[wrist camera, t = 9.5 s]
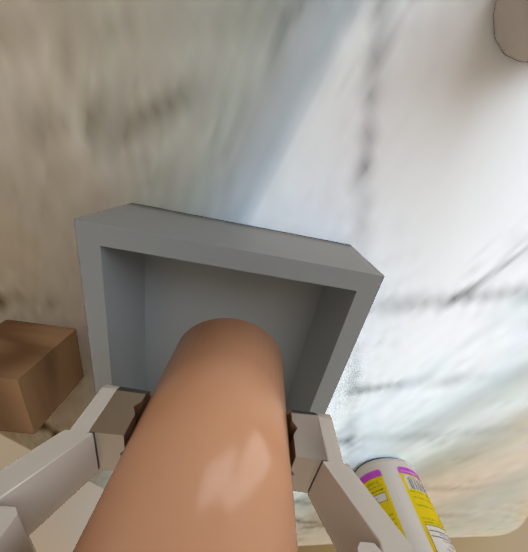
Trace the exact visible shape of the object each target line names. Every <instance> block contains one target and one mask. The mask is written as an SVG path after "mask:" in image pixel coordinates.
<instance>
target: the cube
mask: <svg viewBox="0 0 528 552" xmlns="http://www.w3.org/2000/svg"><path fill="white" fill-rule="evenodd" d="M83 377H84V375H83V369H82V363H81V357H80V351H79V345H78V339H77V334H76V329H71V328H64V327H57V326H49V325H42V324H35V323H28V322H21V321H13V320H6V321H4V322H2V323H1V324H0V431H9V432H19V433H28V434H35V433H36V432H37V431H38V430H39V428H40V427H41V426H42V425H43V424H44V422H45V421H46V420H47V419H48V418H49V417H50V415H51V414H52V413H53V412H54V411H55V410H56V408H57V407H58V406H59V405H60V404H61V403H62V401H63V400H64V399H65V398H66V397H67V396H68V394H69V393H70V392H71V391H72V390H73V389H74V387H75V386H76V385H77V384H78V383H79V381H80V380H81V379H82V378H83Z"/></svg>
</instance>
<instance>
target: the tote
mask: <svg viewBox="0 0 528 552" xmlns="http://www.w3.org/2000/svg"><path fill="white" fill-rule="evenodd" d="M74 224H75V232H76V240H77V248H78V256H79V264H80V272H81V280H82V288H83V296H84V304H85V312H86V320H87V328H88V336H89V344H90V352H91V360H92V368H93V376H94V384H95V392H96V394H97V393H98V391H99V390H100V389H101V388H102V387H103V386H105V385H106V384H107V385H114V386H121V387H127V388H133V389H139V390H145V391H150V392H151V396H152V394H153V392H154V390H155V388H156V386H157V384H158V382H159V380H160V378H161V376H162V374H163V372H164V370H165V368H166V366H167V364H168V362H169V360H170V358H171V356H172V354H173V352H174V350H175V348H176V346H177V344H178V342H179V340H180V339H181V337H182V336H183V335H184V334H185V333H186V332H187V331H188V330H189V329H190V328H192V327H193V326H195V325H197V324H199V323H201V322H204V321H207V320H211V319H217V318H233V319H239V320H244V321H247V322H250V323H252V324H254V325H256V326H258V327H260V328H261V329H263V330H264V331H266V332H267V333H268V334H269V335H270V336H271V337H272V338H273V339H274V341H275V342H276V343H277V345H278V347H279V349H280V352H281V356H282V364H283V376H284V389H285V401H286V413H288V411H289V410H298V411H307V412H315V413H320V414H325V412H326V410H327V407H328V405H329V403H330V400H331V398H332V396H333V394H334V391H335V389H336V387H337V384H338V382H339V380H340V377H341V375H342V373H343V371H344V368H345V366H346V364H347V361H348V359H349V357H350V354H351V352H352V350H353V347H354V345H355V343H356V341H357V338H358V336H359V334H360V331H361V329H362V327H363V324H364V322H365V320H366V317H367V315H368V313H369V311H370V308H371V306H372V304H373V301H374V299H375V297H376V294H377V292H378V290H379V288H380V285H381V283H382V281H383V278H384V275H383V274H382V273H380V272H379V271H378V270H377V269H376V268H375V267H374V266H373V265H372V264H371V263H369V262H368V261H367V260H366V259H365V258H364V257H363V256H362V255H361V254H360V253H358V252H357V251H356V250H355V249H354V248H353V247H352V246H351V245H348V244H343V243H338V242H332V241H327V240H322V239H317V238H312V237H306V236H301V235H296V234H291V233H286V232H280V231H275V230H270V229H265V228H259V227H254V226H249V225H244V224H239V223H233V222H228V221H223V220H218V219H212V218H207V217H202V216H197V215H192V214H186V213H181V212H176V211H171V210H166V209H160V208H155V207H150V206H145V205H139V204H134V203H130V204H127V205H123V206H120V207H116V208H112V209H109V210H105V211H102V212H98V213H94V214H91V215H87V216H84V217H80V218H76V219H74Z"/></svg>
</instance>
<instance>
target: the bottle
mask: <svg viewBox="0 0 528 552" xmlns="http://www.w3.org/2000/svg"><path fill="white" fill-rule="evenodd" d="M493 19H494V30H495V39H496V40H497V42H498V44H499V45H500V47H501V49H502V50H503V52H504V54H505V55H507V56H509V57H512V58H514V59H516V60H518V61H520V62H526V61H528V0H497V1H496V5H495V10H494V14H493Z"/></svg>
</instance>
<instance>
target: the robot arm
mask: <svg viewBox="0 0 528 552" xmlns="http://www.w3.org/2000/svg"><path fill="white" fill-rule="evenodd" d="M150 398H151V392H150V391H145V390H139V389H133V388H127V387H121V386H114V385H107V384H106V385H105V386H103V387H102V388H101V389H100V390H99V391H98V393H97V394H96V395H95V397H94V398H93V399H92V401H91V402H90V403H89V405H88V406H87V407H86V409H85V410H84V411H83V413H82V414H81V415H80V417H79V418H78V419H77V421H76V422H75V423H74V425H73V426H72V427H71V429H70V430H63V431H62V432H60V433H58V434H57V435H55V436H54V437H52V438H50V439H49V440H47V441H46V442H44V443H42V444H41V445H39V446H38V447H36V448H34V449H33V450H31V451H30V452H28V453H26V454H25V455H23V456H22V457H20V458H18V459H17V460H15V461H13V462H12V463H10V464H9V465H7V466H5V467H4V468H2V469H1V470H0V552H36V550H35V548H34V546H33V544H32V541H31V539H30V537H29V535H30V534H31V533H32V532H33V531H34V530H35V529H37V528H38V527H39V526H40V525H41V524H42V523H43V522H44V521H45V520H46V519H47V518H49V517H50V516H51V515H52V514H53V513H54V512H55V511H56V510H57V509H58V508H59V507H61V506H62V505H63V504H64V503H65V502H66V501H67V500H68V499H69V498H70V497H71V496H72V495H73V494H75V493H76V492H77V491H78V490H79V489H80V488H81V487H82V486H83V485H84V484H85V483H86V482H88V481H89V480H90V479H91V478H92V477H93V476H94V475H95V474H96V473H97V472H98V471H99V469H101V470H113V471H114V469H115V467H116V465H117V463H118V461H119V459H120V457H121V455H122V453H123V451H124V449H125V447H126V445H127V443H128V441H129V439H130V437H131V435H132V433H133V431H134V429H135V427H136V425H137V423H138V421H139V419H140V418H141V416H142V414H143V412H144V410H145V408H146V406H147V404H148V402H149V400H150ZM287 425H288V437H289V449H290V462H291V474H292V486H293V491H298V492H305V493H308V496H309V498H310V500H311V502H312V504H313V506H314V508H315V510H316V511H317V513H318V515H319V517H320V519H321V521H322V523H323V525H324V527H325V529H326V531H327V533H328V535H329V537H330V538H331V540H332V542H333V544H334V546H335V548H336V550H337V552H414V550H413V548H412V545H411V544H410V543H409V542H408V540H407V539H406V538H405V537H404V535H403V534H402V533H401V531H400V530H399V529H398V528H397V526H396V525H395V524H394V522H393V521H392V520H391V519H390V517H389V516H388V515H387V514H386V512H385V511H384V510H383V508H382V507H381V506H380V505H379V503H378V502H377V501H376V500H375V498H374V497H373V496H372V494H371V493H370V492H369V491H368V489H367V488H366V487H365V486H364V484H363V483H362V482H361V480H360V479H359V478H358V477H357V475H356V474H355V473H354V471H353V470H352V469H351V468H350V466H349V465H348V464H344V463H343V459H342V456H341V452H340V448H339V444H338V441H337V437H336V433H335V429H334V426H333V422H332V418H331V416H330V415H328V414H320V413H315V412H307V411H298V410H289V411H288V413H287Z"/></svg>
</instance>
